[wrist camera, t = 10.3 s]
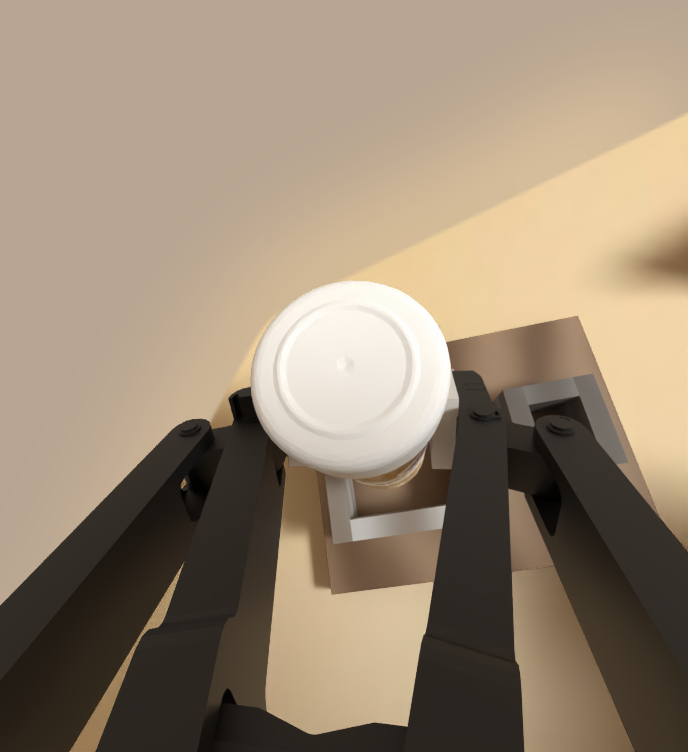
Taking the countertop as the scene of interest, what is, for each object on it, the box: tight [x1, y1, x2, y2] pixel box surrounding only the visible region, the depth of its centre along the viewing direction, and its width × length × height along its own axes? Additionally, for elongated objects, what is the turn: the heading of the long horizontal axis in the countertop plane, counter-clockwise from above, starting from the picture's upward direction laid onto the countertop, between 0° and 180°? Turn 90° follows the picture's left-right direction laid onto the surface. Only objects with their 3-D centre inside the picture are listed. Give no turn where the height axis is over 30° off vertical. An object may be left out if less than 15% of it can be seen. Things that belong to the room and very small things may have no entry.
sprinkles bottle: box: [251, 281, 451, 489], centre depth 14 cm, size 5×5×14 cm
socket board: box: [317, 316, 659, 594], centre depth 25 cm, size 21×16×5 cm
